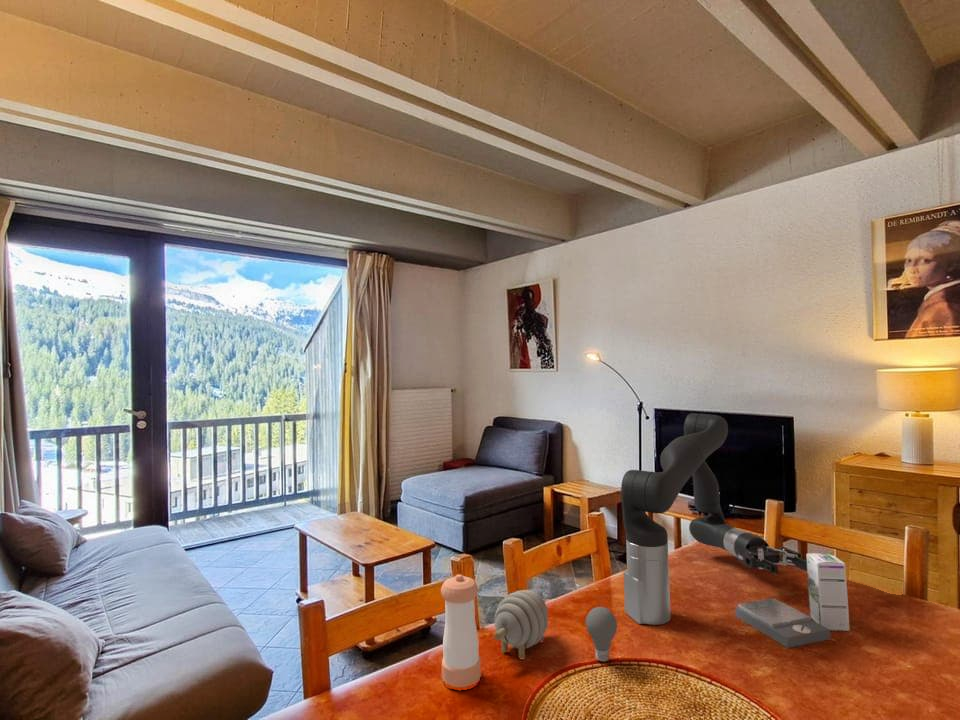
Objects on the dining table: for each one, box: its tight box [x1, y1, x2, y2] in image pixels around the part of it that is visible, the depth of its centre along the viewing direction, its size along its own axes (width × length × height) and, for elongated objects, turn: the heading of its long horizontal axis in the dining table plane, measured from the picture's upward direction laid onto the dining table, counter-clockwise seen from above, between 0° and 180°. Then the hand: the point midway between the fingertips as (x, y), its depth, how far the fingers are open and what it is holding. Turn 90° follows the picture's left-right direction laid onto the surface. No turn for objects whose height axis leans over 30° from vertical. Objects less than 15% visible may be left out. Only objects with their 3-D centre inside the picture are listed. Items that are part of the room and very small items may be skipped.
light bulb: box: [585, 606, 618, 662], centre depth 98 cm, size 6×6×10 cm
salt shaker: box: [440, 573, 482, 687], centre depth 93 cm, size 7×7×19 cm
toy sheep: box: [493, 589, 549, 659], centre depth 103 cm, size 11×17×11 cm, turn 148°
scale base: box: [734, 606, 831, 649], centre depth 109 cm, size 11×14×2 cm
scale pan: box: [737, 597, 812, 628], centre depth 110 cm, size 10×10×1 cm
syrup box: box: [806, 552, 850, 632], centre depth 110 cm, size 6×6×14 cm
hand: (792, 568), depth 119 cm, fingers open, 8 cm apart
